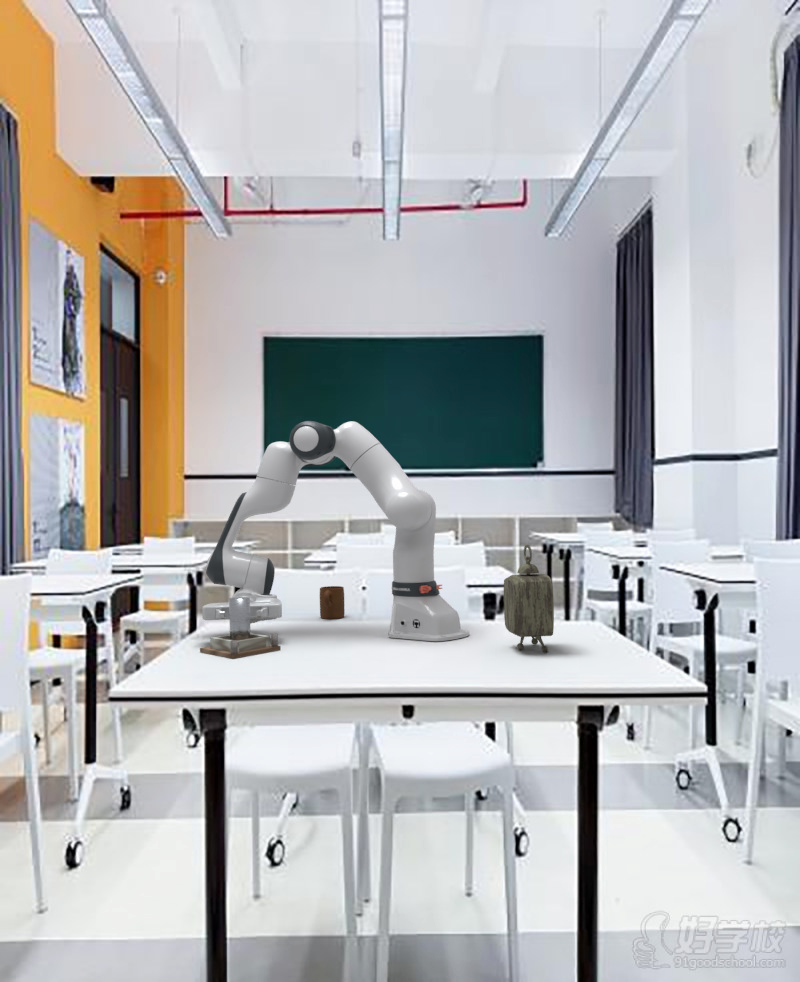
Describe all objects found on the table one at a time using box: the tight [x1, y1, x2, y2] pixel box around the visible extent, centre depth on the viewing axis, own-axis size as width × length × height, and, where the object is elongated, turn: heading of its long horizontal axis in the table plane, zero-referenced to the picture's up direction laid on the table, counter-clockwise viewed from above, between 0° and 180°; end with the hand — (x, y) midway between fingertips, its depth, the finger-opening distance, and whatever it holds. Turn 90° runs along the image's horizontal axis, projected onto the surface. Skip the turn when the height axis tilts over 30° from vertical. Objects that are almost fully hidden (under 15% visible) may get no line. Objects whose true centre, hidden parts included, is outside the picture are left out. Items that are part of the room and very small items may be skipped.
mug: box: [319, 585, 345, 620], centre depth 263 cm, size 12×8×9 cm, turn 172°
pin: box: [228, 597, 251, 641], centre depth 211 cm, size 5×5×12 cm
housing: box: [199, 632, 281, 660], centre depth 211 cm, size 14×14×4 cm
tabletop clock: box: [503, 544, 555, 654], centre depth 204 cm, size 14×9×25 cm, turn 4°
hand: (240, 614), depth 213 cm, fingers open, 8 cm apart
